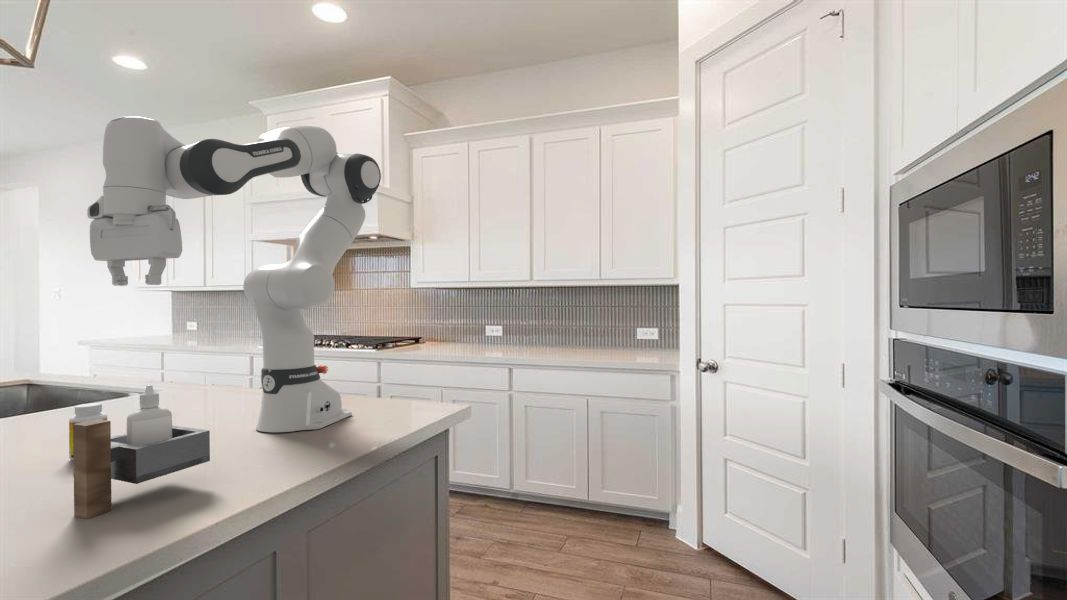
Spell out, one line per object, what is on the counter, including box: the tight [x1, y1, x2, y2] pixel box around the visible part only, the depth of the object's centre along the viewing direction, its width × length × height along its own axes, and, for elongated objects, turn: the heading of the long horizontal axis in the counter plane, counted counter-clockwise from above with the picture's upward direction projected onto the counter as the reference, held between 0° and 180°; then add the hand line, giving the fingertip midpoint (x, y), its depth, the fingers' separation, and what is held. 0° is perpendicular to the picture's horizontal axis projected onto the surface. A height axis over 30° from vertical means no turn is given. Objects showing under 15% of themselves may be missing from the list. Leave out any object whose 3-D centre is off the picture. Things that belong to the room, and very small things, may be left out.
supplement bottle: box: [68, 402, 108, 462], centre depth 98 cm, size 6×6×10 cm
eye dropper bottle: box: [126, 384, 173, 446], centre depth 80 cm, size 4×6×12 cm
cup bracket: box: [73, 419, 211, 520], centre depth 78 cm, size 15×11×13 cm
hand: (136, 285), depth 90 cm, fingers open, 8 cm apart
